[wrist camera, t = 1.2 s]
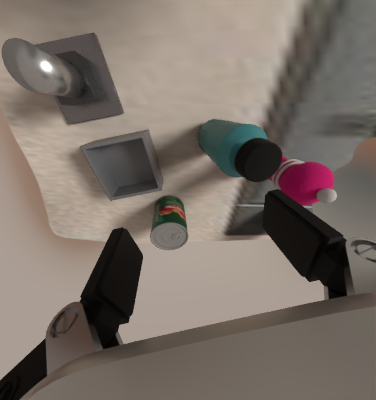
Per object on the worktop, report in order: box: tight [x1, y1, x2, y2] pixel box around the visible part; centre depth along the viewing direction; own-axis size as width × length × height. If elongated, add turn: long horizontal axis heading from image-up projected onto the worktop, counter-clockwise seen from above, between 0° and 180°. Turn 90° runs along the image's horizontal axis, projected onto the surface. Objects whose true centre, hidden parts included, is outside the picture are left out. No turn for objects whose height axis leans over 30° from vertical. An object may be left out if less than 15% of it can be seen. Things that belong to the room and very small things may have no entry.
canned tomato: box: [150, 195, 188, 250], centre depth 34 cm, size 8×8×11 cm
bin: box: [80, 130, 163, 201], centre depth 29 cm, size 11×11×6 cm
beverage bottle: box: [198, 119, 282, 182], centre depth 22 cm, size 6×7×20 cm
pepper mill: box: [269, 155, 337, 205], centre depth 25 cm, size 7×7×20 cm
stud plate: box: [35, 33, 124, 124], centre depth 22 cm, size 10×10×4 cm
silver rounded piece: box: [2, 38, 104, 106], centre depth 19 cm, size 5×5×10 cm
